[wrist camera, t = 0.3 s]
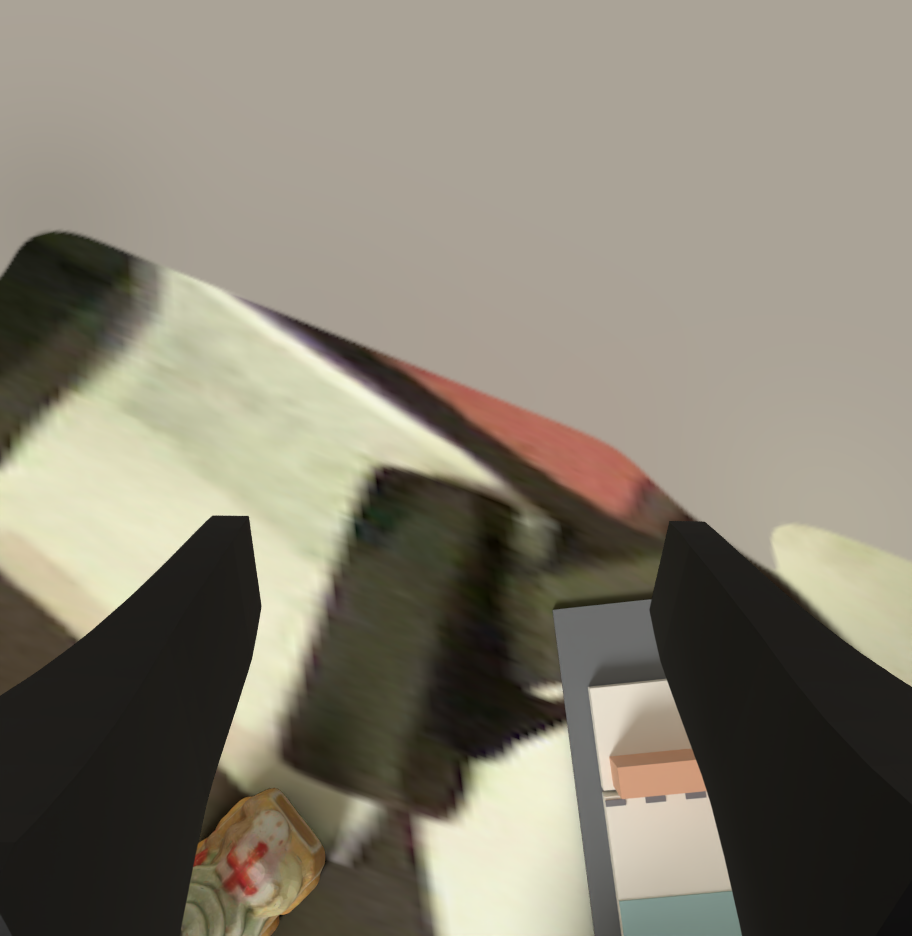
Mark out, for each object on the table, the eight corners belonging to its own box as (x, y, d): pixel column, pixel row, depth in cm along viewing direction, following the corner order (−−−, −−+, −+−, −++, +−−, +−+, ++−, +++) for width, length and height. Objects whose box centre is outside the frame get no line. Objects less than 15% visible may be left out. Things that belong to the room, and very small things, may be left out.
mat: (792, 955, 38) (795, 958, 37) (599, 972, 38) (600, 975, 38) (728, 591, 41) (729, 590, 41) (552, 610, 42) (552, 609, 41)
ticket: (767, 950, 37) (776, 961, 36) (624, 962, 38) (629, 974, 36) (737, 778, 39) (745, 784, 38) (601, 791, 39) (605, 797, 38)
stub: (737, 772, 39) (763, 790, 35) (601, 786, 39) (611, 804, 35) (720, 673, 40) (743, 679, 36) (587, 686, 40) (596, 694, 36)
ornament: (266, 763, 41) (190, 807, 31) (349, 843, 40) (298, 914, 30) (167, 883, 40) (58, 966, 31) (249, 968, 39) (163, 1082, 30)
